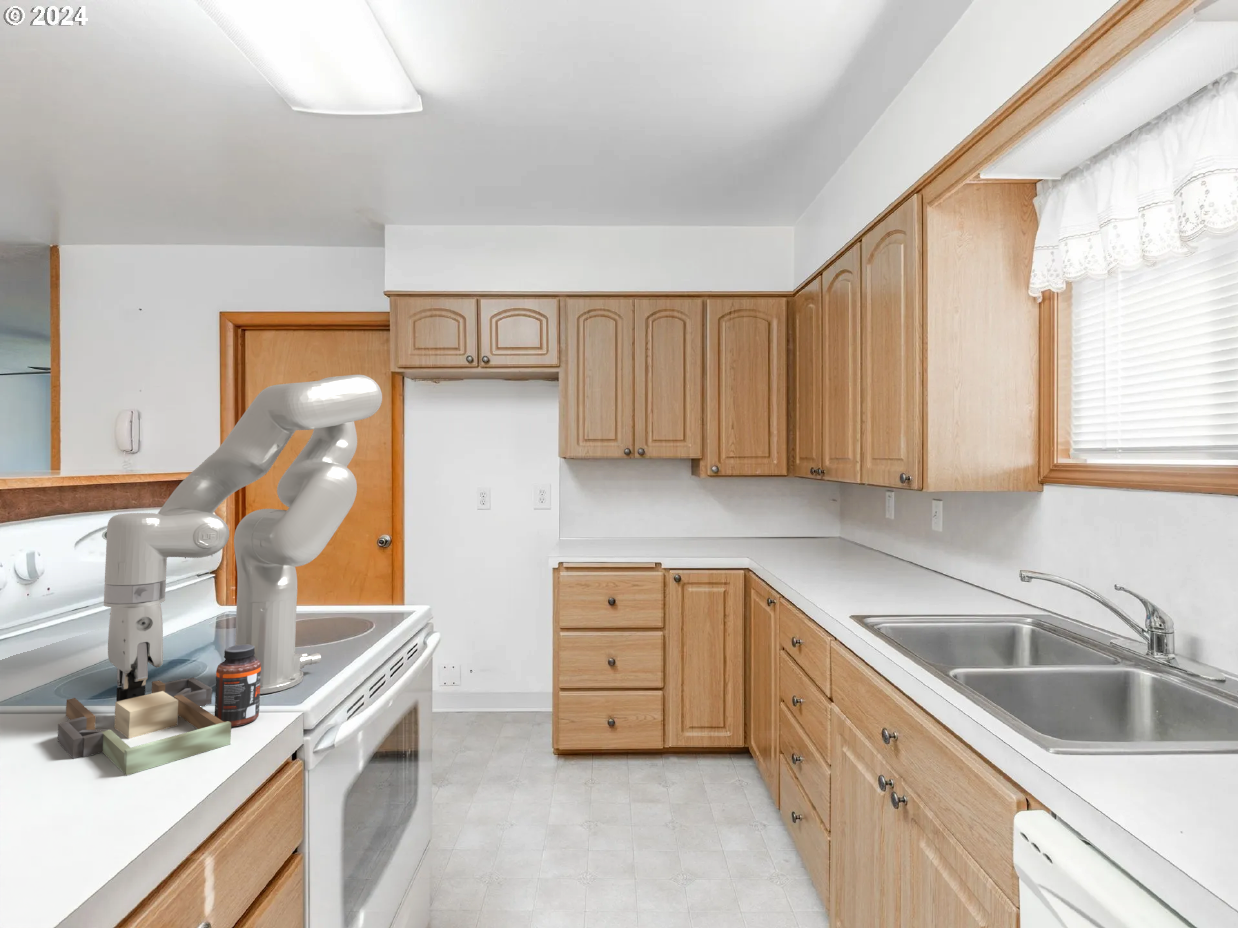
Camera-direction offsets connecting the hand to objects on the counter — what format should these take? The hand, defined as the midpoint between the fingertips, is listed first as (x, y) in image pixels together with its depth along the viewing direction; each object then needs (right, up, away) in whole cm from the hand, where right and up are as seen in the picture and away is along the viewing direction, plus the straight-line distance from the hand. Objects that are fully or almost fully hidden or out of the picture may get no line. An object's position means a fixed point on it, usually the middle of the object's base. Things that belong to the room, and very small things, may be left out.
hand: (130, 712), depth 96 cm
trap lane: (+5, -1, -4) cm, 7 cm away
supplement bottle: (+16, -2, 0) cm, 16 cm away
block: (+4, -1, -3) cm, 5 cm away
